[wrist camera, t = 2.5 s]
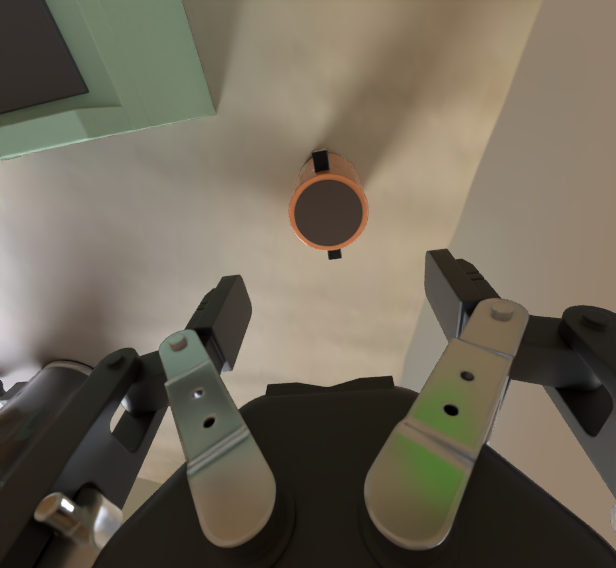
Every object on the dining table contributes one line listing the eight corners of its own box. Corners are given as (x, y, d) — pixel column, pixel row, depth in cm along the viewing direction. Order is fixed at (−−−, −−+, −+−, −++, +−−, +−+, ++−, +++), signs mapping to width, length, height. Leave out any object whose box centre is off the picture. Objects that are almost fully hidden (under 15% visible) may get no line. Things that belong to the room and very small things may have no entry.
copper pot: (305, 230, 29) (300, 270, 22) (288, 144, 24) (275, 161, 18) (361, 222, 28) (372, 260, 21) (354, 131, 24) (364, 145, 17)
